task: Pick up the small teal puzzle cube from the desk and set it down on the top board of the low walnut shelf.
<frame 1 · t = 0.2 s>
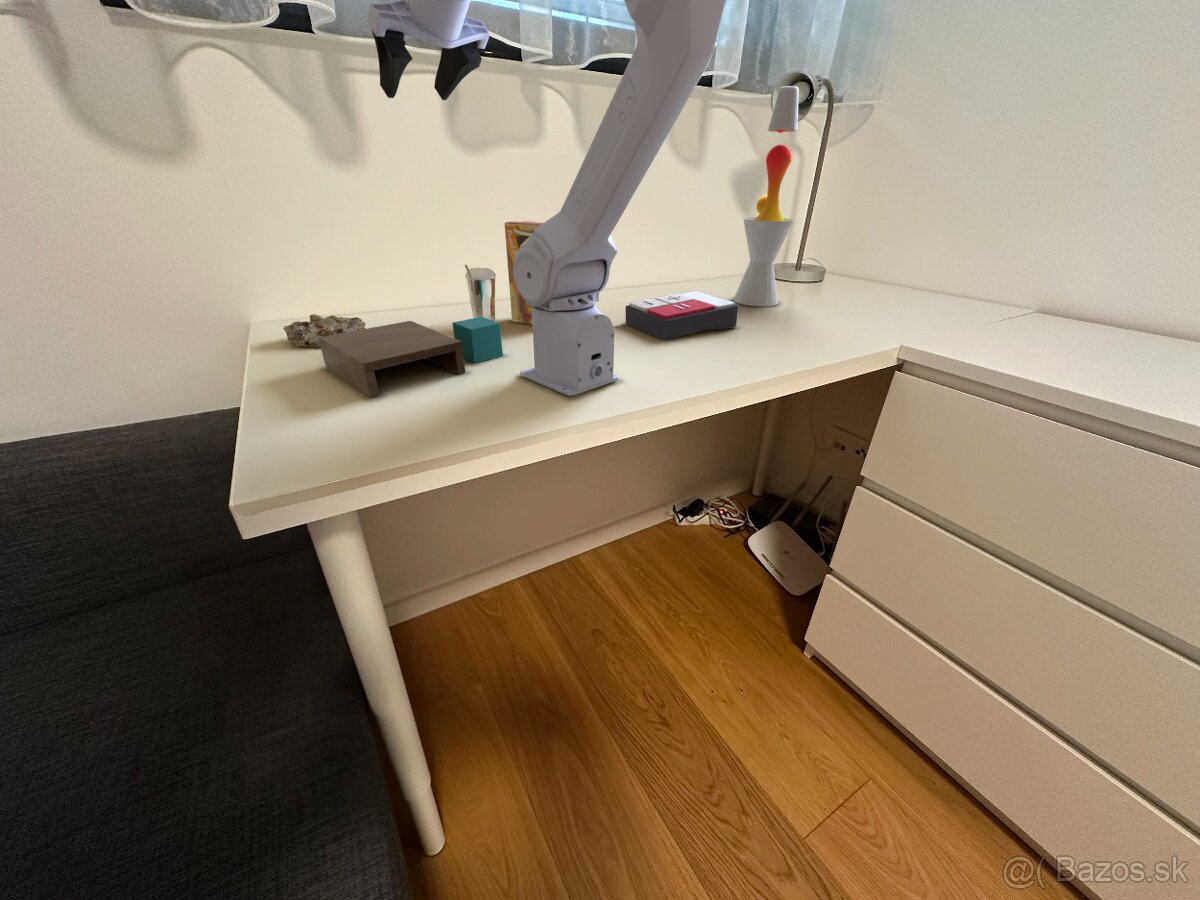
hand: (414, 92, 65), 31 cm above the table, tool tilted 45°, fingers open, 7 cm apart
candy box: (539, 323, 85), on the table
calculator: (679, 326, 85), on the table
milkshake: (483, 329, 81), on the table
mineral rock: (329, 340, 75), on the table
cube: (479, 355, 69), on the table
shelf: (395, 370, 64), on the table
lava lamp: (755, 302, 101), on the table
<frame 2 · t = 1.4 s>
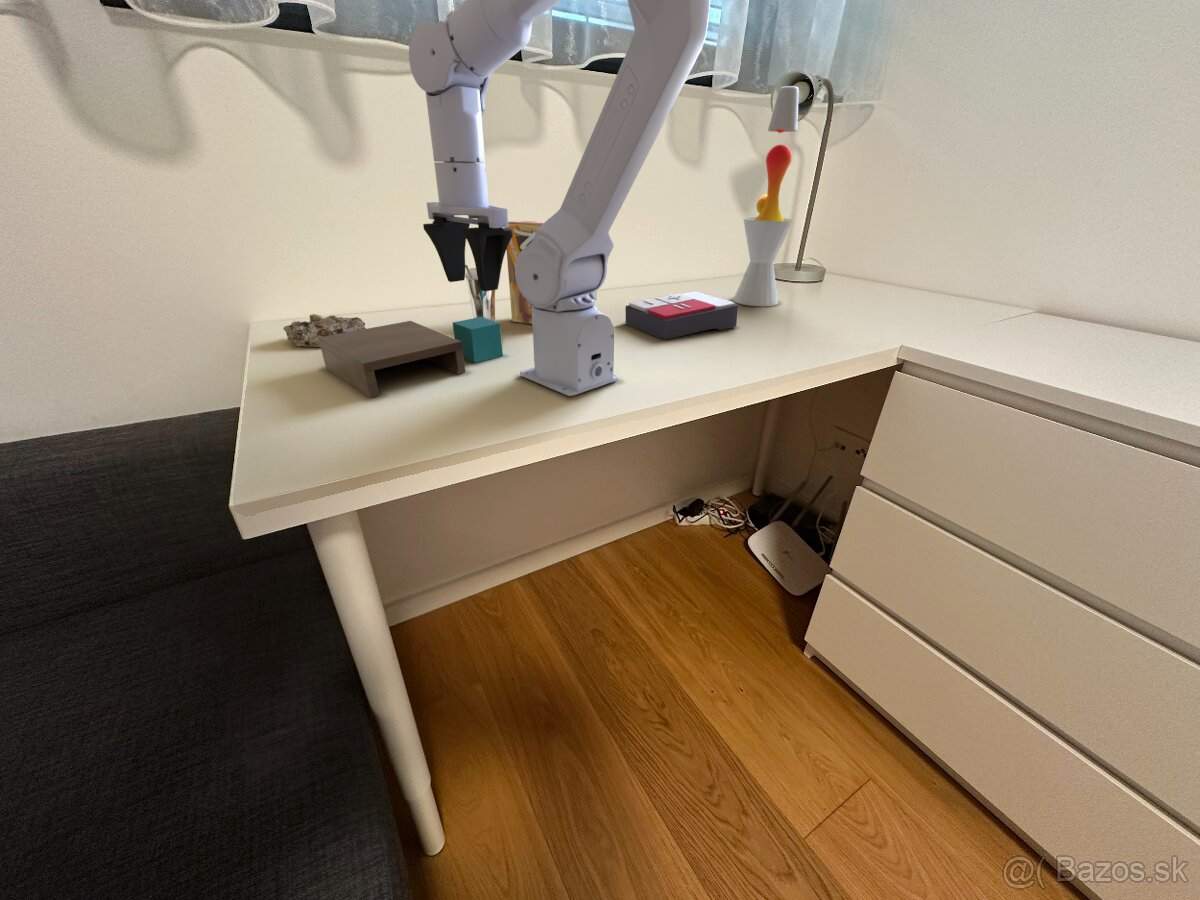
hand: (472, 285, 65), 9 cm above the table, tool pointing down, fingers open, 7 cm apart
nothing on the table moved.
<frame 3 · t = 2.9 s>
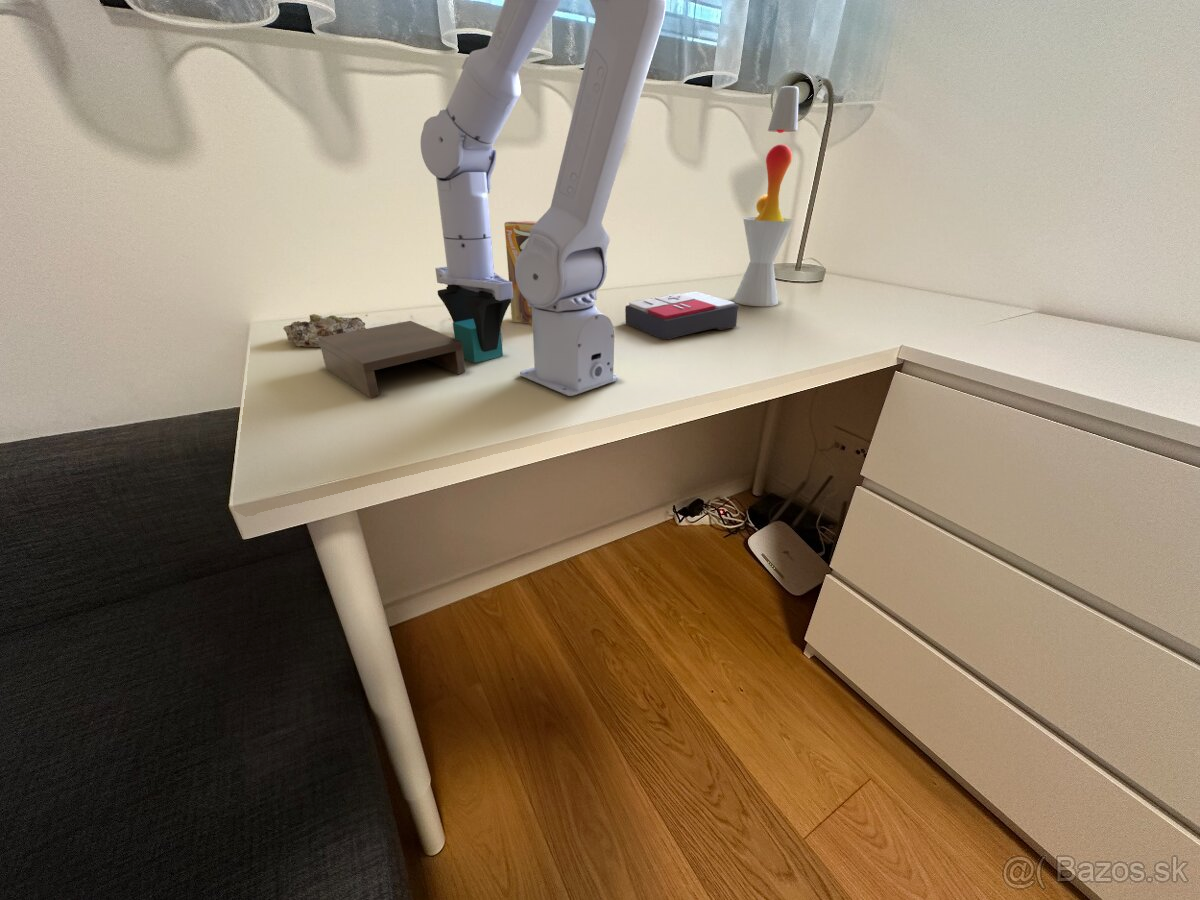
hand: (478, 345, 69), 1 cm above the table, tool pointing down, fingers closed on cube, 4 cm apart
cube: (479, 355, 69), on the table, touching gripper
everything else where it was.
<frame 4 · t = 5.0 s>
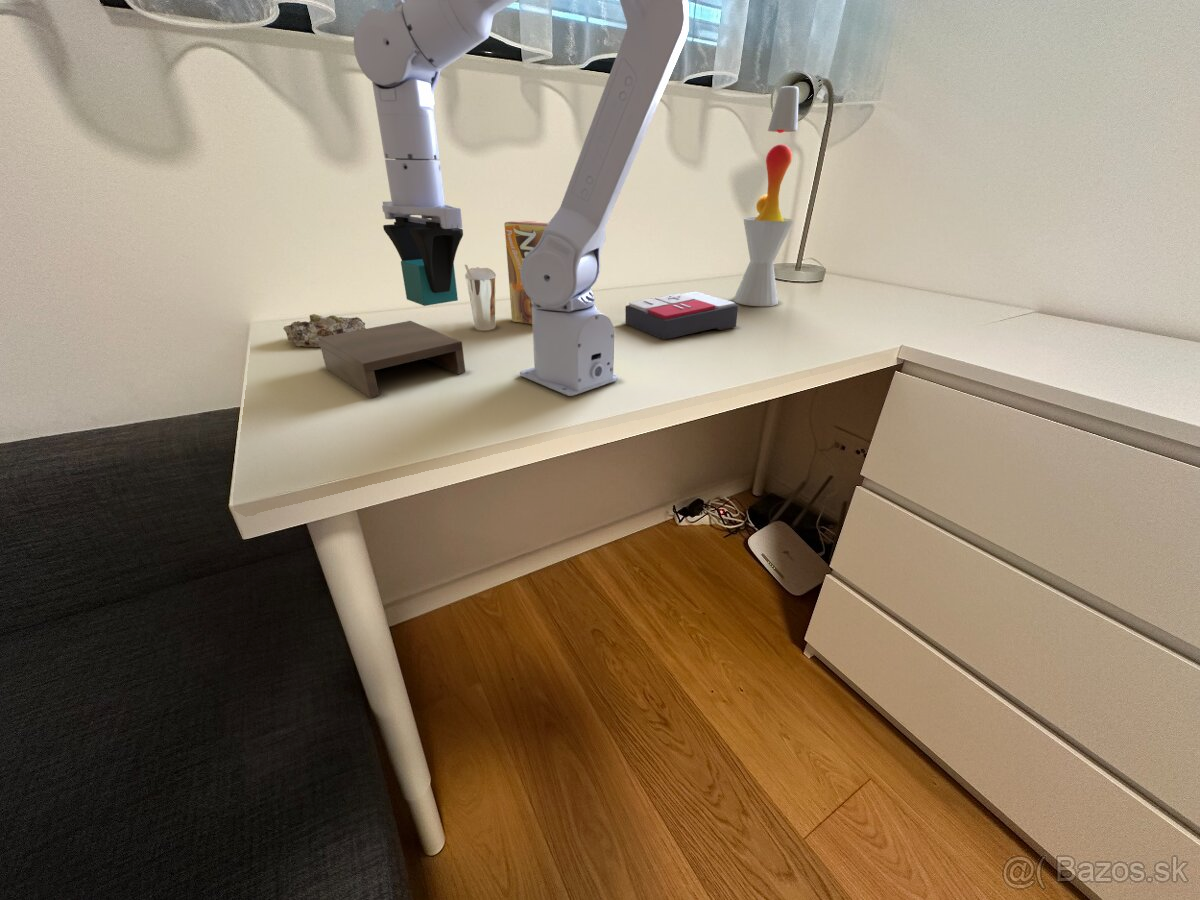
hand: (430, 288, 62), 9 cm above the table, tool pointing down, fingers closed on cube, 4 cm apart
cube: (432, 300, 63), point 8 cm above the table, touching gripper
everything else where it was.
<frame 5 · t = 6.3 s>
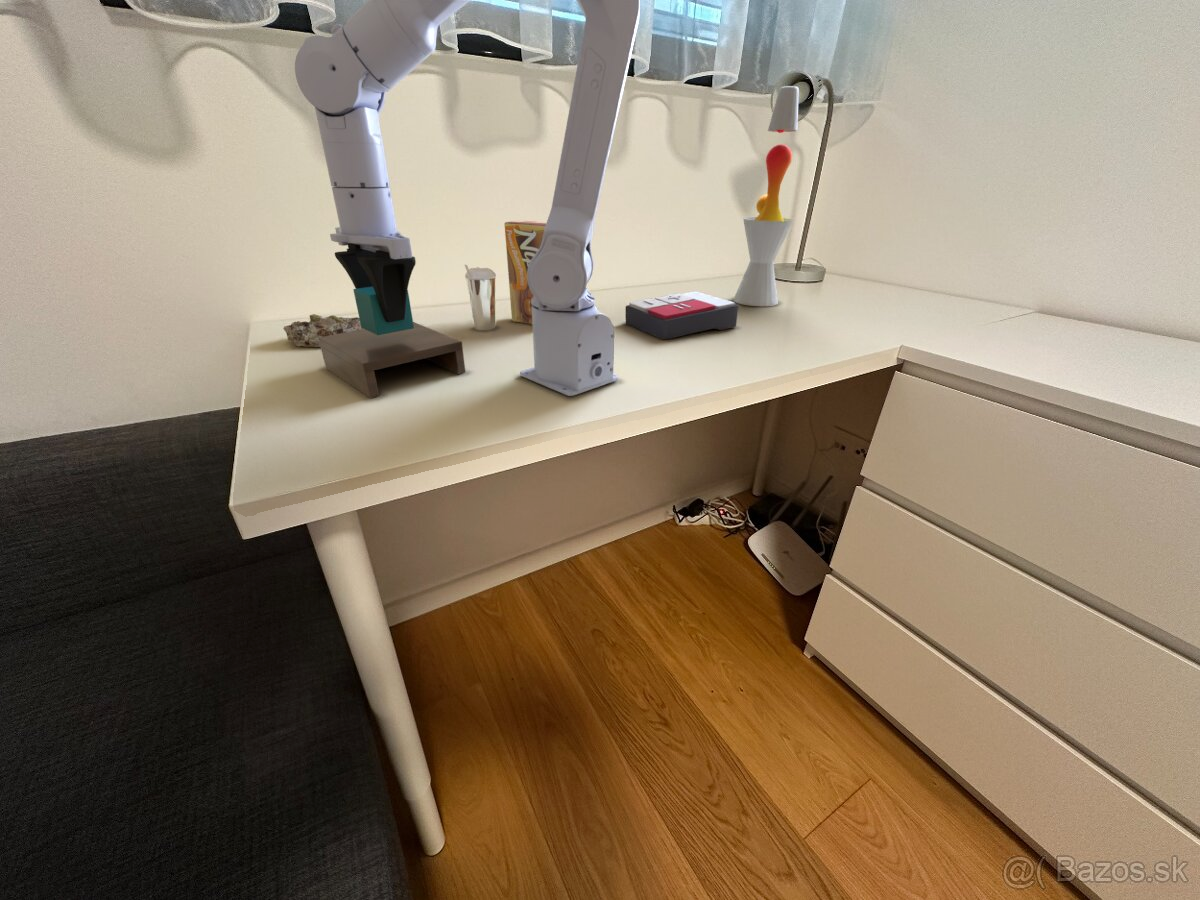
hand: (385, 316, 60), 7 cm above the table, tool pointing down, fingers closed on cube, 4 cm apart
cube: (387, 328, 61), point 5 cm above the table, touching gripper
everything else where it was.
when the fingers open (5 cm above the table, at t = 7.2 s): cube stays where it is, resting on shelf.
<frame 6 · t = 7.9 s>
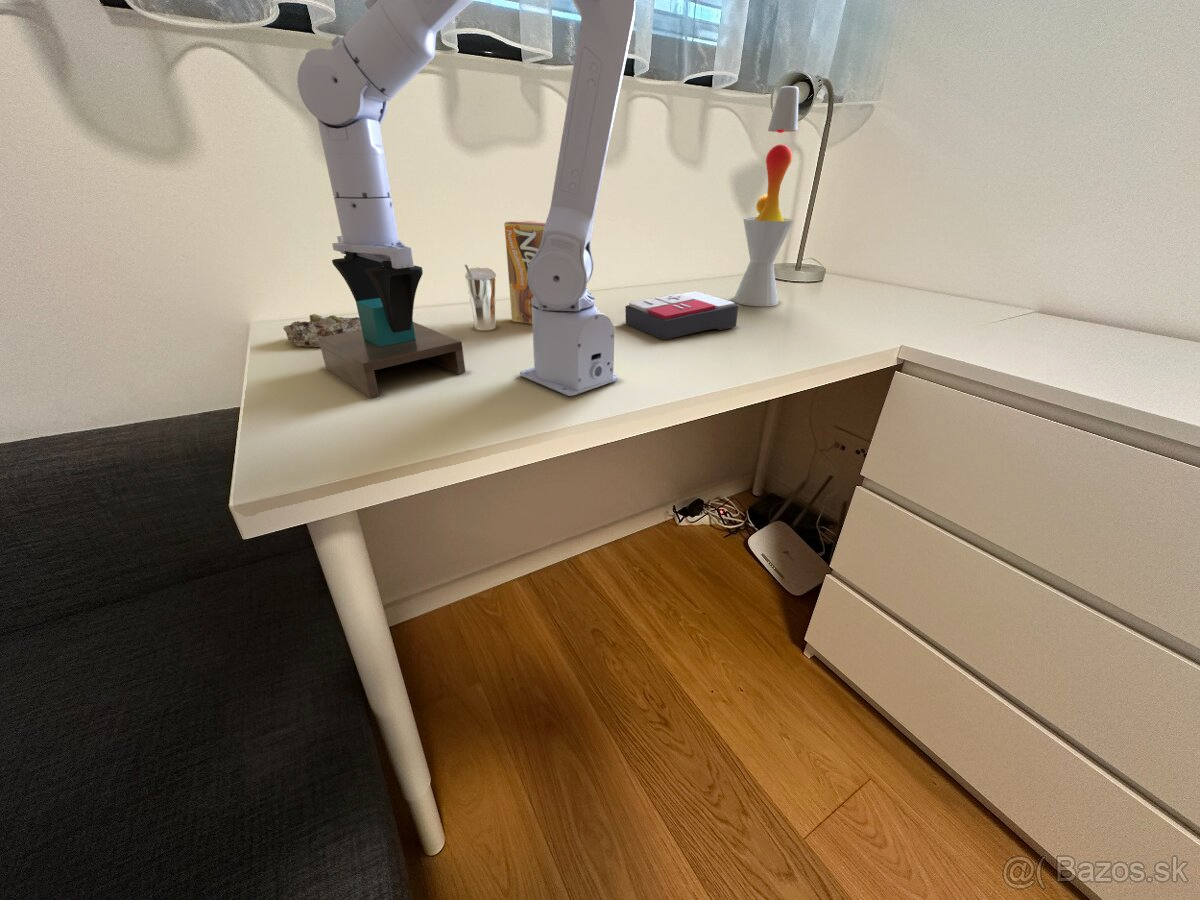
hand: (386, 324, 61), 6 cm above the table, tool pointing down, fingers open, 7 cm apart
cube: (389, 339, 62), point 4 cm above the table, touching shelf
everything else where it was.
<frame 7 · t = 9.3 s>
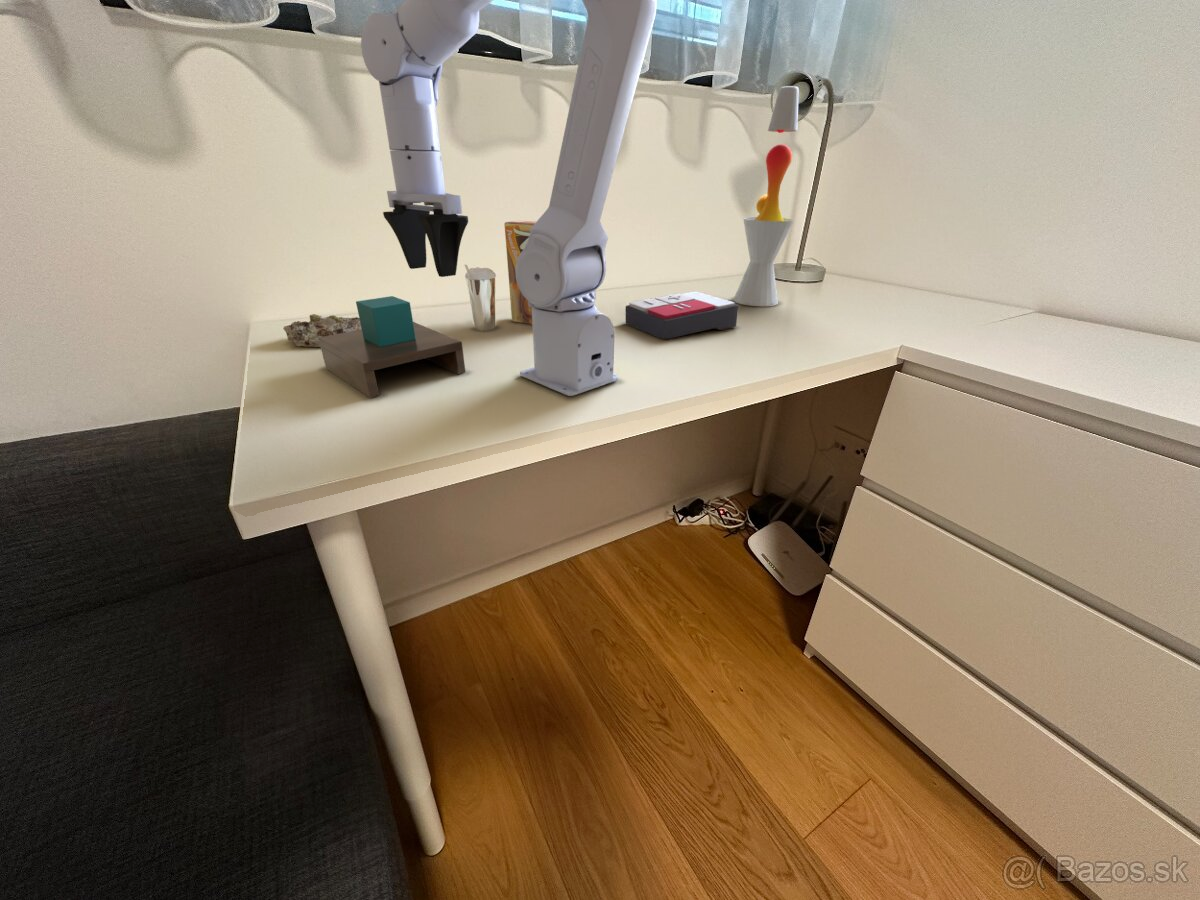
hand: (432, 271, 67), 10 cm above the table, tool pointing down, fingers open, 7 cm apart
nothing on the table moved.
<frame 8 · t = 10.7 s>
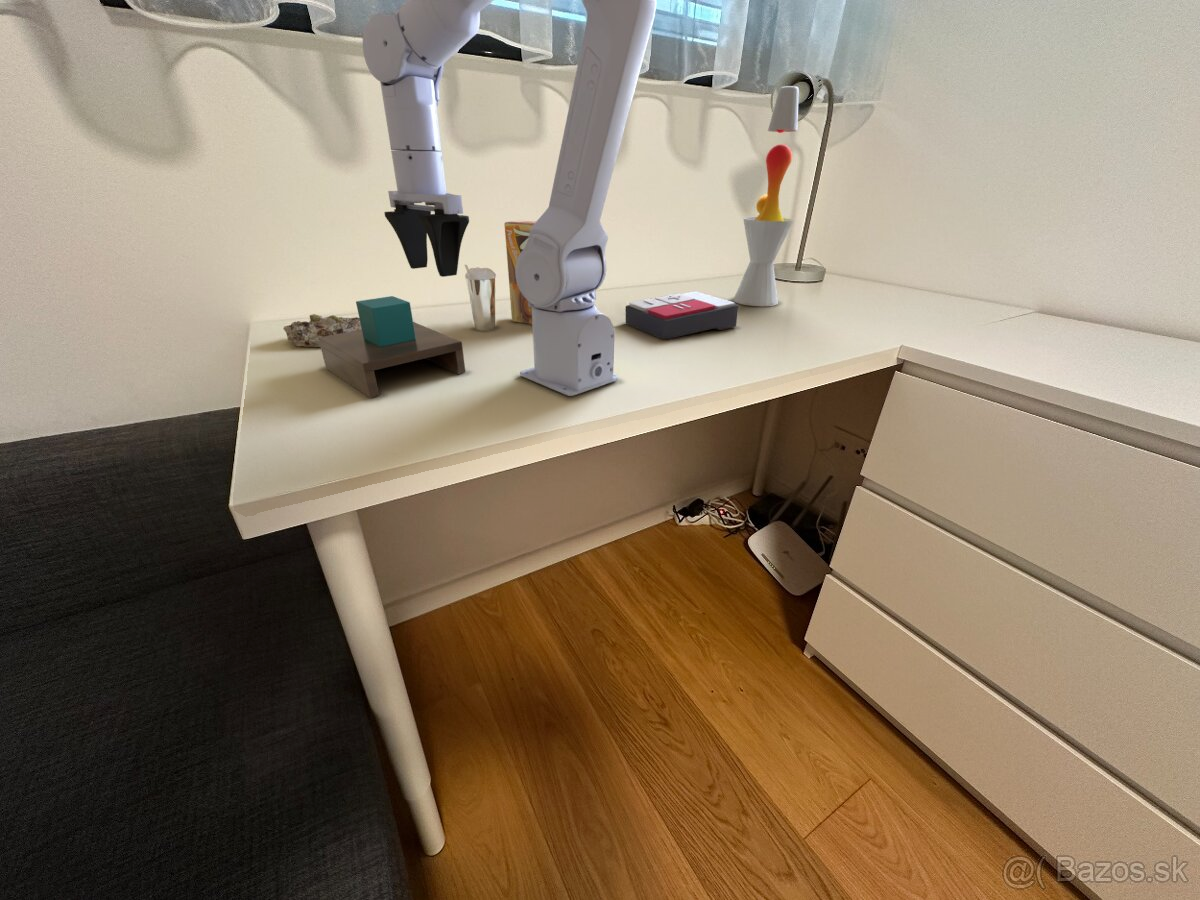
hand: (433, 271, 67), 10 cm above the table, tool pointing down, fingers open, 7 cm apart
nothing on the table moved.
at the end: cube inside the target area on the shelf (0.0 cm from its centre), point 4.0 cm above the shelf's base; cube tilted 0°; the gripper is holding nothing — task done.
